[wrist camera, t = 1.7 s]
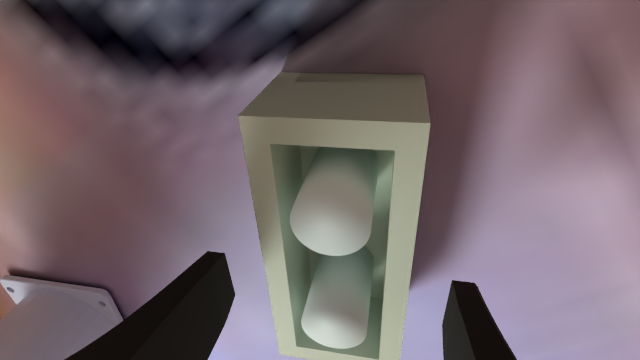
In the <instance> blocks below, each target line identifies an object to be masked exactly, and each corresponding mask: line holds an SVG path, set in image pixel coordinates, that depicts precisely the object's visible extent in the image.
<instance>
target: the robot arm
mask: <svg viewBox="0 0 640 360" xmlns="http://www.w3.org/2000/svg"><path fill="white" fill-rule="evenodd" d="M0 283H1V284H2V286H3V287H4V288H5V290H6V291H7V292H8V294H9V295H10V296H11V298H12V299H13V300H14V302H15V303H16V304H17V305H16V306H15V307H13V308H12V309H11V310H10V311H9V312H8V313H7V314H6V315H5V316H4V317H3V318H2V319H0V360H207V359H208V357H209V355H210V353H211V352H212V350H213V348H214V345H215V343H216V341H217V339H218V337H219V335H220V333H221V331H222V329H223V327H224V325H225V322H226V320H227V317H228V314H229V312H230V309H231V306H232V303H233V300H234V297H235V292H234V288H233V284H232V280H231V276H230V272H229V268H228V264H227V260H226V256H225V253H218V252H210V251H208V252H206V253H205V254H204V255H203V256H202V257H200V258H199V259H198V260H197V261H196V262H195V263H193V264H192V265H191V266H190V267H189V268H188V269H186V270H185V271H184V272H183V273H182V274H181V275H179V276H178V277H177V278H176V279H175V280H174V281H172V282H171V283H170V284H169V285H168V286H166V287H165V288H164V289H163V290H162V291H160V292H159V293H158V294H157V295H155V296H154V297H153V298H152V299H151V300H149V301H148V302H147V303H145V304H144V305H143V306H142V307H140V308H139V309H138V310H136V311H135V312H134V313H132V314H131V315H130V316H129V317H127V318H126V319H125V320H123V318H122V317H121V315H120V313H119V311H118V309H117V307H116V305H115V303H114V301H113V299H112V297H111V296H110V294H109V293H108V292H107V291H106V290H104V289H101V288H94V287H87V286H80V285H73V284H66V283H59V282H52V281H45V280H39V279H32V278H25V277H18V276H11V275H5V276H4V277H3V278H2V279H0ZM442 327H443V354H444V360H517V359H516V357H515V356H514V354H513V352H512V351H511V349H510V347H509V346H508V344H507V342H506V341H505V339H504V337H503V335H502V334H501V332H500V330H499V328H498V326H497V325H496V323H495V321H494V319H493V317H492V315H491V313H490V312H489V310H488V308H487V306H486V304H485V302H484V300H483V298H482V295H481V293H480V291H479V289H478V287H477V285H476V284H475V283H470V282H462V281H453V280H452V283H451V288H450V292H449V297H448V301H447V306H446V310H445V315H444V319H443V324H442Z"/></svg>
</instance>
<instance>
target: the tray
mask: <svg viewBox="0 0 640 360" xmlns="http://www.w3.org/2000/svg"><path fill="white" fill-rule="evenodd" d="M238 118H239V124H240V130H241V135H242V141H243V147H244V153H245V158H246V164H247V170H248V175H249V181H250V187H251V193H252V198H253V204H254V210H255V216H256V221H257V227H258V233H259V238H260V244H261V250H262V256H263V261H264V267H265V273H266V278H267V284H268V290H269V296H270V301H271V307H272V313H273V318H274V324H275V330H276V336H277V341H278V347H279V353H280V355H285V356H291V357H297V358H303V359H309V360H400V355H401V347H402V339H403V332H404V324H405V316H406V308H407V301H408V293H409V285H410V278H411V270H412V262H413V255H414V247H415V239H416V232H417V224H418V216H419V209H420V201H421V193H422V186H423V178H424V170H425V163H426V155H427V147H428V140H429V132H430V124H431V122H430V115H429V108H428V100H427V93H426V85H425V78H424V75H414V74H347V73H279V74H278V75H277V76H276V77H275V79H274V80H273V81H272V82H271V83H270V84H269V85H268V86H267V87H266V88H265V89H264V90H263V91H262V92H261V93H260V94H259V95H258V96H257V97H256V98H255V99H254V100H253V101H252V102H251V103H250V104H249V105H248V106H247V107H246V108H245V109H244V110H243V111H242V112H241V113H240V114H239V115H238Z"/></svg>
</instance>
